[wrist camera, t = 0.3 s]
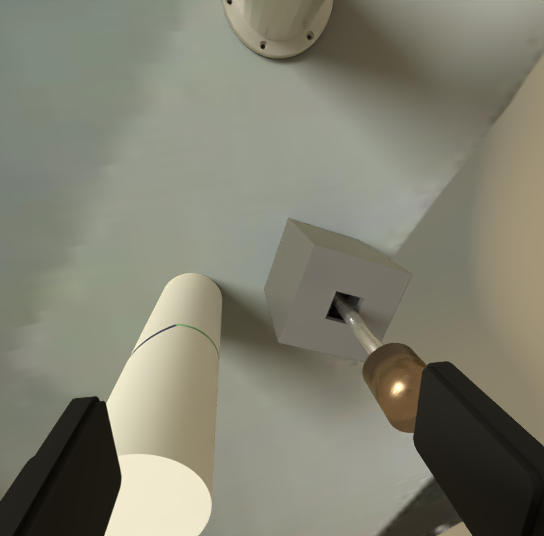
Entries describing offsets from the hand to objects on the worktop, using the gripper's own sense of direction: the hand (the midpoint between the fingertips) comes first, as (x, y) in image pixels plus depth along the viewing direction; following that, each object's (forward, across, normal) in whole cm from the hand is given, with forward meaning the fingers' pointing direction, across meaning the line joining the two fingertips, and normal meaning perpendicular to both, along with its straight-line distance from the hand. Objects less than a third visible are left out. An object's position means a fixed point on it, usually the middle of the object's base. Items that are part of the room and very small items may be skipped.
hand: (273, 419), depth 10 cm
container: (+37, +7, +12) cm, 40 cm away
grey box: (+37, -10, +7) cm, 39 cm away
